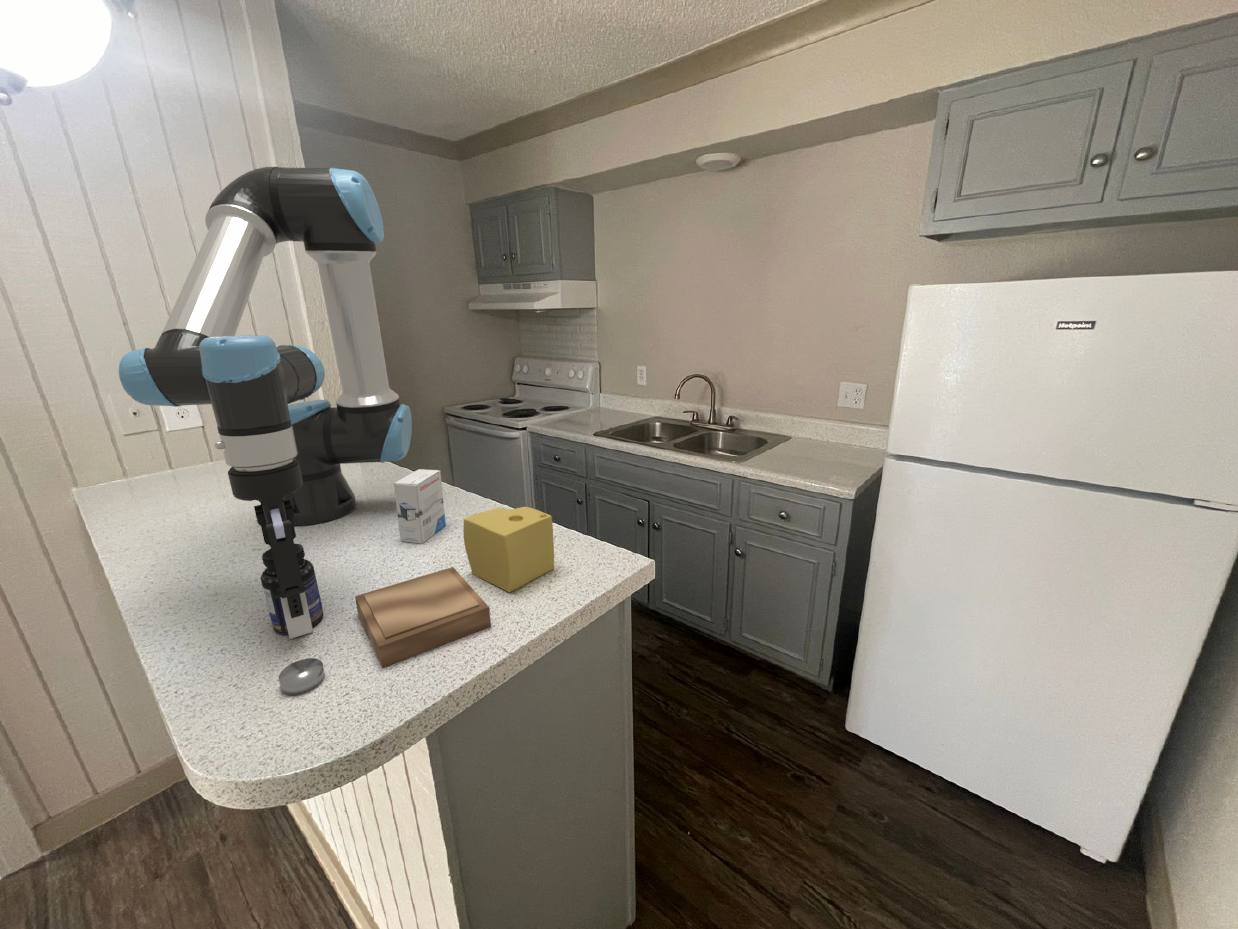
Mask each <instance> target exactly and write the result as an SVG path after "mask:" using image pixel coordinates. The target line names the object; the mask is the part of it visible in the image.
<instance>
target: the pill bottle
mask: <svg viewBox="0 0 1238 929" xmlns="http://www.w3.org/2000/svg"><path fill="white" fill-rule="evenodd" d="M294 545H295V549H296V554H297V559H298V563H299V568H300V573H301V578H302V582H303V584H304V586H305V595H306V600H307V605H308V610H309V614H310V619H311V624H312V628H313V627H314V626H316V625H317V624H319V623H320V621H321V620H322V619H323V617H324V609H323V604H322V598H321V595H320V591H319V586H318V581H317V576H316V571H315V567H314V564H313V563H312V561H311V560H308V559H305V556H306V554H305V553H306V552H305V549H304V546H303V544H300V543H294ZM261 559H262V563H263V566H264V567H266V568H264V570H263V571H262V573H261V576H260V582H261V586H262V591H263V595H264V597H265V602H266V606H267V610H268V615H269V618H270V622H271V626H272V629H273V630H274V631H275V632H276V633H277V634H278V633H279V634H282V635H284V634H287V635H289V634H288V629H287V625H286V621H285V616H284V612H283V607H282V603H281V598H276V599H275V598H274V593H278V592H279V591H280V587H279V583H278V578H277V574H276V569H275V565H274V560H273V556H272V551H271V548H269V549H267V550H266V551H265V552H263V554H262V555H261Z"/></svg>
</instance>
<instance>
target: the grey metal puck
mask: <svg viewBox="0 0 1238 929" xmlns="http://www.w3.org/2000/svg"><path fill="white" fill-rule="evenodd" d="M325 673H326V672H325V669H324V664H323V661H322V660H321V659H318V658H314V657H312V658H311V657H310V658H304V659H303V658H302V659H300V660H297V661H295V662H292V663H291V664H289V665H287V666H286V667H284V668H283V669H282V670H281V672H280V673H279V675H278V681H279V685H280V689H281V692H282V694H284V695H286V696H290V697H291V696H292V697H294V696H296V697H297V696H299V695H300V696H301V695H304V694H307V693H309V692H311V691H313V690H315V689H317V688H318V687H319V686H321V684H322V683H323V682H324V680H325V679H326V674H325Z"/></svg>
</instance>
